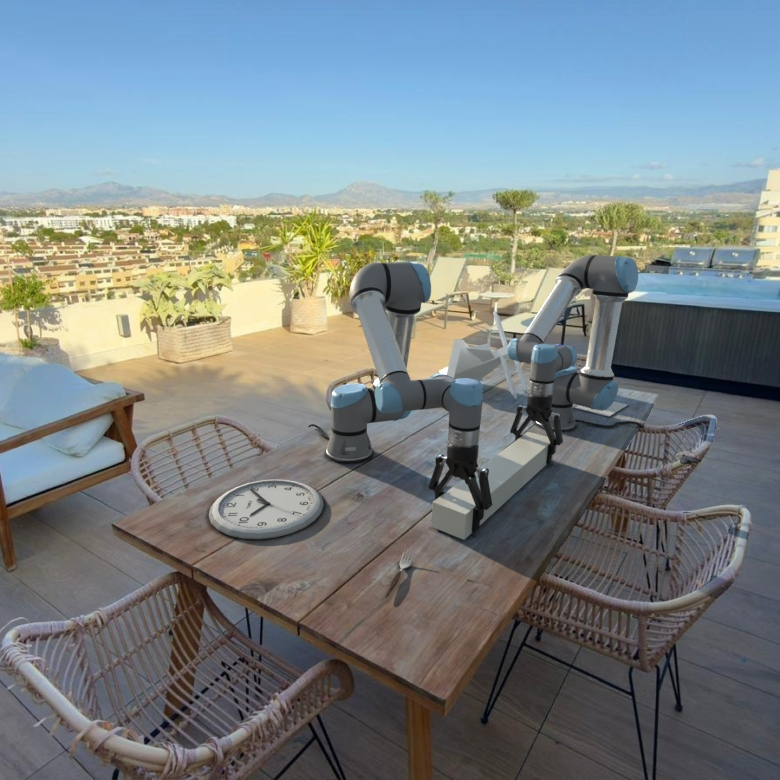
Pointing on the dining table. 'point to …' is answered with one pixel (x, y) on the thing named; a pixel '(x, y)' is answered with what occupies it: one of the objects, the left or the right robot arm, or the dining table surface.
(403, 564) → the fork
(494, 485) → the off-white long beam
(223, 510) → the wall clock
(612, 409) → the invitation card
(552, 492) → the dining table surface
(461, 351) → the white plastic object
